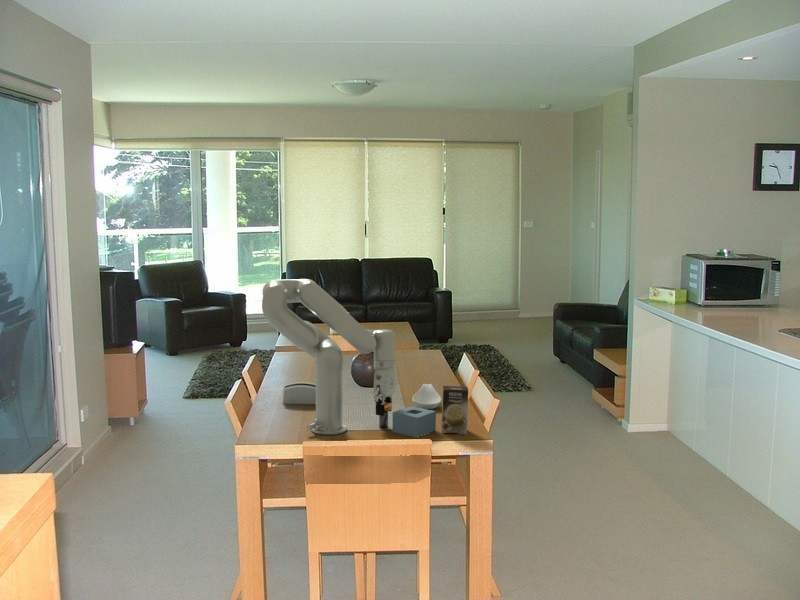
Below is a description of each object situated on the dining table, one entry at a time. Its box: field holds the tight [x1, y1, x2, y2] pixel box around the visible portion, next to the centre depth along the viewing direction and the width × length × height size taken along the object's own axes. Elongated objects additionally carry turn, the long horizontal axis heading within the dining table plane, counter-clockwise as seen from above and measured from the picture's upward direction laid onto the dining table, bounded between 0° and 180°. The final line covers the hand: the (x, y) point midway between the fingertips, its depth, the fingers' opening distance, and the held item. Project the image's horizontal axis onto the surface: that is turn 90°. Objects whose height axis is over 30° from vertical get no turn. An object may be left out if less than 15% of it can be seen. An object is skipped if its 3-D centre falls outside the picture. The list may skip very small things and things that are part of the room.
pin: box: [378, 401, 393, 430], centre depth 281 cm, size 6×6×9 cm
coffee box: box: [440, 385, 469, 435], centre depth 276 cm, size 9×6×16 cm
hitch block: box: [391, 405, 437, 438], centre depth 276 cm, size 11×11×7 cm
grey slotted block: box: [282, 381, 316, 405], centre depth 313 cm, size 17×5×10 cm, turn 89°
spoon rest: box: [411, 383, 442, 410], centre depth 315 cm, size 24×12×7 cm, turn 178°
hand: (383, 412), depth 280 cm, fingers closed on pin, 6 cm apart
